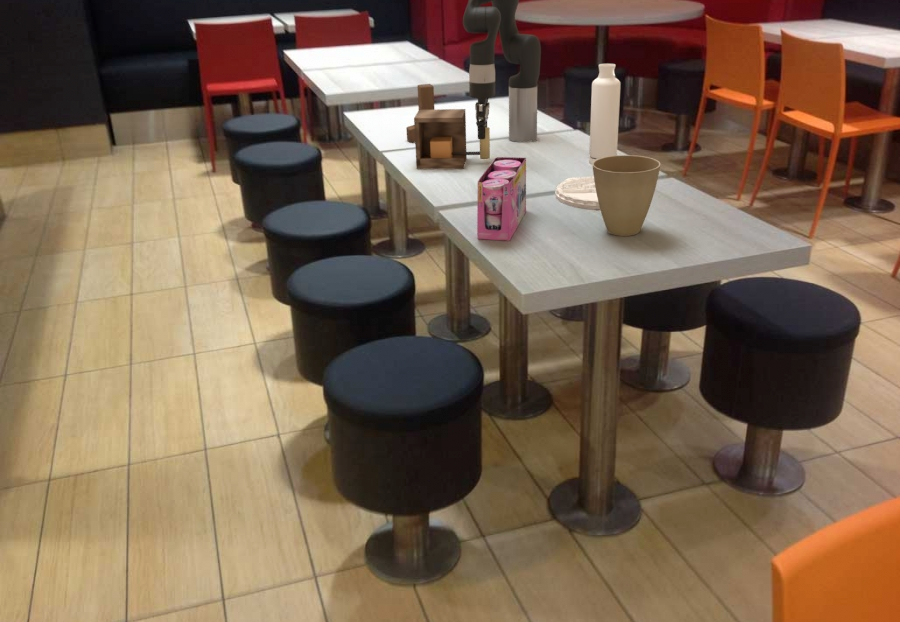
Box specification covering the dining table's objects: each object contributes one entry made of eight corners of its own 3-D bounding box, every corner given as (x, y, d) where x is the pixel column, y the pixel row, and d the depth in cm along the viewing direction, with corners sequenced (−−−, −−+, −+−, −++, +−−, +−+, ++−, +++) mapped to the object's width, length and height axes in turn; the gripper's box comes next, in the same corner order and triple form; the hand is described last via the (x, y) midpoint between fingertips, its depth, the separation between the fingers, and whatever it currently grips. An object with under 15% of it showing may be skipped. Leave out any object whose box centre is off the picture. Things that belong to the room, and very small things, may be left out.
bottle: (614, 166, 243) (619, 67, 231) (586, 164, 246) (590, 66, 234) (618, 159, 250) (623, 63, 238) (591, 157, 252) (595, 62, 241)
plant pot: (623, 216, 202) (627, 151, 195) (669, 232, 190) (675, 164, 184) (576, 229, 195) (578, 162, 188) (620, 246, 183) (624, 176, 177)
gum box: (509, 243, 188) (509, 185, 182) (475, 241, 190) (473, 183, 184) (526, 210, 209) (527, 157, 203) (495, 209, 211) (495, 156, 205)
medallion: (586, 216, 204) (586, 207, 203) (532, 189, 226) (532, 180, 225) (665, 202, 212) (665, 193, 211) (605, 177, 235) (605, 168, 234)
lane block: (490, 155, 253) (490, 125, 249) (489, 161, 248) (489, 130, 244) (433, 156, 255) (431, 126, 251) (430, 161, 249) (429, 131, 245)
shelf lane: (466, 158, 257) (465, 109, 251) (463, 168, 246) (462, 117, 240) (421, 158, 258) (419, 109, 252) (416, 168, 248) (414, 118, 241)
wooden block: (409, 143, 277) (406, 87, 270) (406, 140, 281) (403, 85, 274) (436, 140, 279) (433, 85, 272) (432, 137, 283) (430, 83, 276)
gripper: (493, 83, 234) (493, 141, 241) (496, 75, 247) (496, 130, 254) (467, 84, 235) (467, 141, 242) (471, 76, 248) (471, 130, 254)
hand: (482, 135), depth 248 cm, fingers open, 8 cm apart
